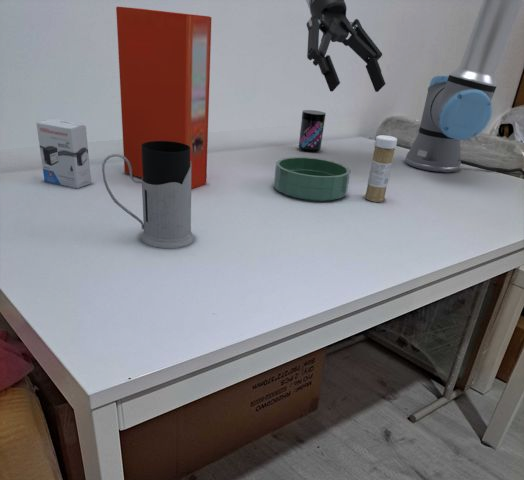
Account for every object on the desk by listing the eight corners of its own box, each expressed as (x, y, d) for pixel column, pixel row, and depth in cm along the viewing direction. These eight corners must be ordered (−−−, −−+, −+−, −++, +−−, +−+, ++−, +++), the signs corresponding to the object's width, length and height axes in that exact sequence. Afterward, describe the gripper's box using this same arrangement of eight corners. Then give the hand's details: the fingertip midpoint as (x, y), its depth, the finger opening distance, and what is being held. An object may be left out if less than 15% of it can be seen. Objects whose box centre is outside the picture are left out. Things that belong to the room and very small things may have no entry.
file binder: (148, 167, 125) (143, 8, 108) (207, 183, 118) (211, 16, 101) (124, 174, 119) (114, 6, 102) (184, 191, 112) (185, 14, 95)
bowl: (326, 180, 129) (330, 157, 126) (358, 201, 116) (363, 176, 113) (263, 181, 124) (265, 157, 121) (289, 203, 111) (292, 177, 108)
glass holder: (197, 247, 87) (199, 153, 79) (109, 250, 83) (101, 152, 75) (188, 228, 94) (189, 140, 86) (106, 230, 90) (98, 138, 82)
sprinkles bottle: (373, 195, 121) (385, 133, 114) (388, 201, 119) (402, 138, 111) (360, 197, 119) (371, 135, 112) (375, 203, 116) (388, 139, 109)
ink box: (43, 181, 109) (34, 121, 103) (59, 176, 113) (51, 118, 107) (77, 189, 107) (70, 128, 101) (92, 183, 111) (86, 124, 105)
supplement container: (293, 149, 155) (297, 111, 149) (305, 146, 160) (310, 109, 154) (312, 154, 152) (317, 115, 146) (324, 150, 156) (330, 113, 151)
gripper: (355, 19, 126) (387, 98, 124) (271, 10, 113) (304, 98, 111) (376, -7, 119) (409, 77, 117) (288, -20, 106) (324, 74, 105)
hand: (358, 87), depth 114 cm, fingers open, 13 cm apart
